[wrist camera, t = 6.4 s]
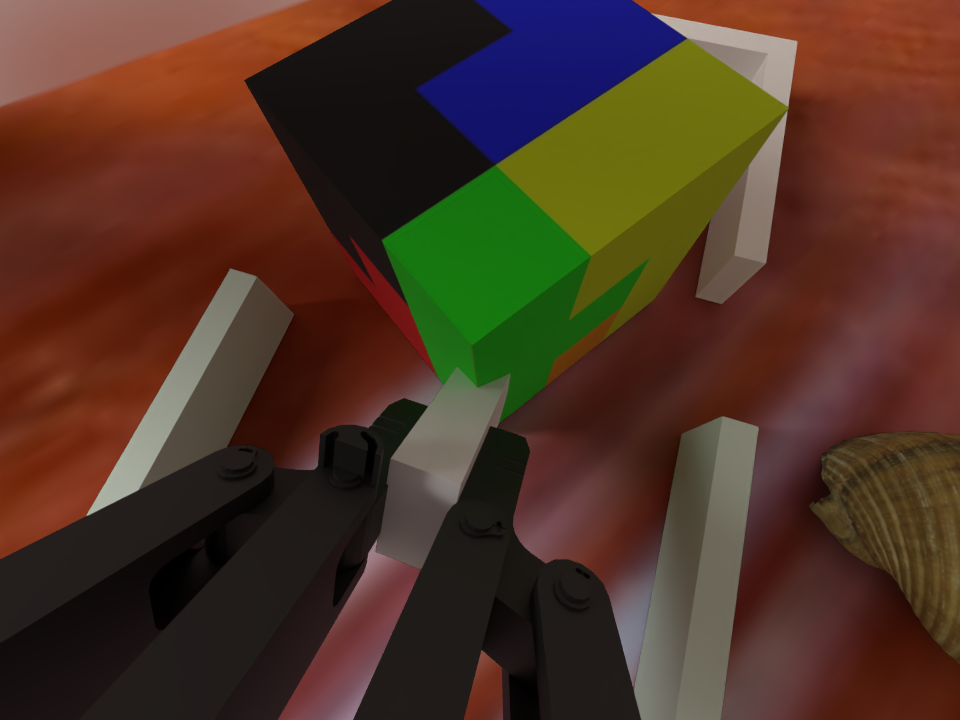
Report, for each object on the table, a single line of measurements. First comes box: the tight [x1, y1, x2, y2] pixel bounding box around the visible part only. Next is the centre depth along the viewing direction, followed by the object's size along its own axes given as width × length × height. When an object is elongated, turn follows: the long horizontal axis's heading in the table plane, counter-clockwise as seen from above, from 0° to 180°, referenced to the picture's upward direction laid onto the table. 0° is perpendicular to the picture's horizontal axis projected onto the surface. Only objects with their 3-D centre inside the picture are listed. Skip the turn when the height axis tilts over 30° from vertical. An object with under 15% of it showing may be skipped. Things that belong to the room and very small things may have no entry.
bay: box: [653, 14, 797, 304], centre depth 22 cm, size 19×13×4 cm, turn 72°
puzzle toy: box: [244, 0, 789, 424], centre depth 16 cm, size 10×10×10 cm
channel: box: [87, 269, 759, 720], centre depth 16 cm, size 20×13×4 cm, turn 72°
